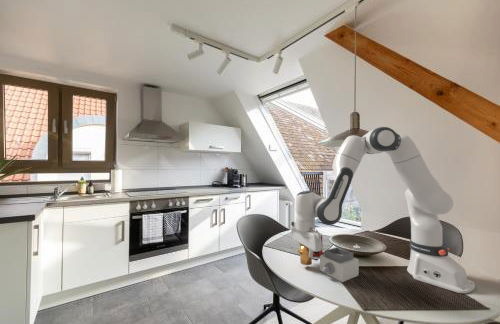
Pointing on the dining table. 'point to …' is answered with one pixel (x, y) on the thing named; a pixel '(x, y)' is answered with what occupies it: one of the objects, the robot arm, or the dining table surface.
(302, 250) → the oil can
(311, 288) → the dining table surface
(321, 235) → the canned food
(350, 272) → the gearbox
